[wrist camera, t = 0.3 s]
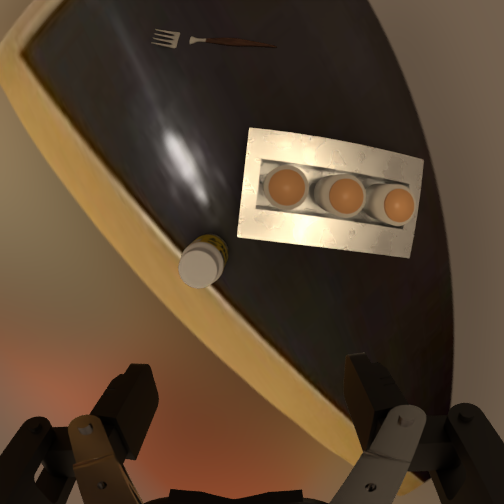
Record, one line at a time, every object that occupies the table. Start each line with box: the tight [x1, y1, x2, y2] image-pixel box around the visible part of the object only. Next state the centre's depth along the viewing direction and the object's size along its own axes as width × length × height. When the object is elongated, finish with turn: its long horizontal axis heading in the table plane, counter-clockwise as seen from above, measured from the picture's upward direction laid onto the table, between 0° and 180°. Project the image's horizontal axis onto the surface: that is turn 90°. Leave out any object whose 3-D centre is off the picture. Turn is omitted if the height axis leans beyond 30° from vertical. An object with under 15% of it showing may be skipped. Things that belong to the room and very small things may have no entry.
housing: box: [237, 128, 424, 258], centre depth 34 cm, size 12×19×7 cm, turn 84°
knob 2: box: [314, 174, 366, 218], centre depth 30 cm, size 4×4×6 cm
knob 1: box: [263, 165, 309, 210], centre depth 30 cm, size 4×4×6 cm
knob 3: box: [363, 184, 416, 226], centre depth 30 cm, size 4×4×6 cm
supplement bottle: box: [179, 234, 228, 288], centre depth 35 cm, size 5×5×8 cm
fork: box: [152, 29, 277, 48], centre depth 32 cm, size 3×16×2 cm, turn 81°
